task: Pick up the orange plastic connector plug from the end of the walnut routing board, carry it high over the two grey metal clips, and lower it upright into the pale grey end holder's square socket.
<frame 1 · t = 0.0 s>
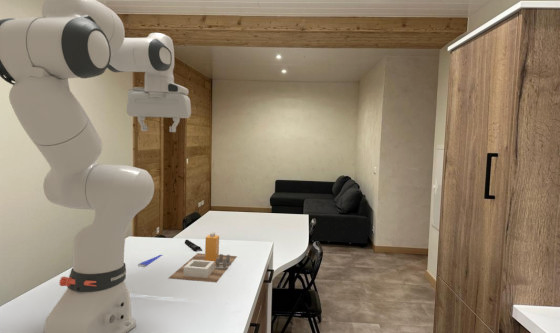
hand: (158, 131, 118), 48 cm above the kitchen island, tool pointing down, fingers open, 8 cm apart
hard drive: (158, 264, 136), on the kitchen island
end holder: (199, 272, 124), resting on routing board
routing board: (205, 269, 131), on the kitchen island
electric trimmer: (192, 251, 154), on the kitchen island
connector plug: (211, 260, 138), point 1 cm above the kitchen island, touching routing board
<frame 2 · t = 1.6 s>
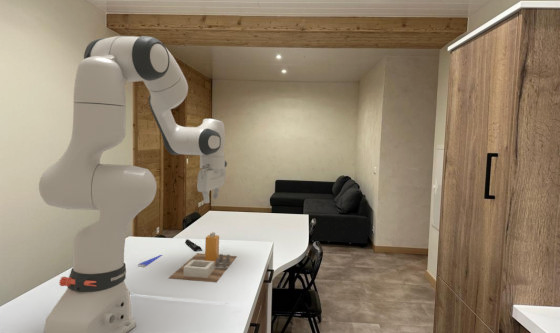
hand: (211, 200, 136), 24 cm above the kitchen island, tool pointing down, fingers open, 8 cm apart
nothing on the kitchen island moved.
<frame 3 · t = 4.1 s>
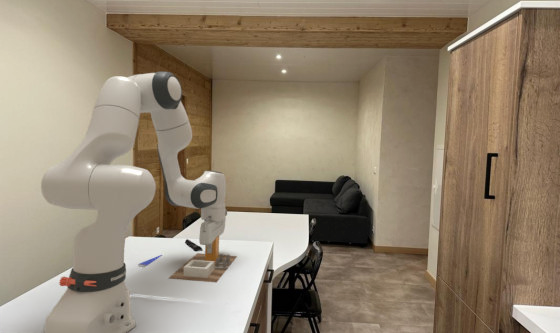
hand: (212, 250, 138), 5 cm above the kitchen island, tool pointing down, fingers closed on connector plug, 4 cm apart
connector plug: (211, 260, 138), point 1 cm above the kitchen island, touching gripper, routing board
everything else where it was.
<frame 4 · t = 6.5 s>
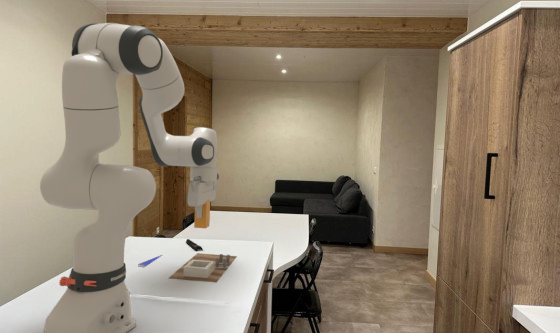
hand: (202, 216, 125), 20 cm above the kitchen island, tool pointing down, fingers closed on connector plug, 4 cm apart
connector plug: (201, 226, 125), point 16 cm above the kitchen island, touching gripper
everything else where it was.
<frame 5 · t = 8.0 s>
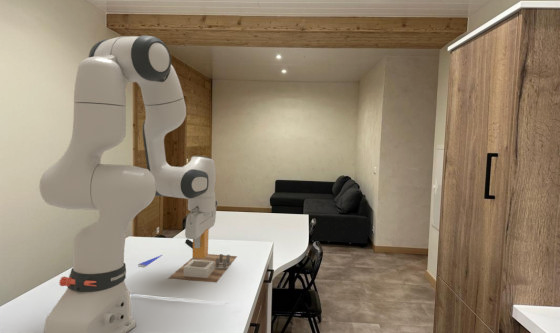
hand: (200, 245, 124), 11 cm above the kitchen island, tool pointing down, fingers closed on connector plug, 4 cm apart
connector plug: (200, 255, 124), point 7 cm above the kitchen island, touching gripper
everything else where it was.
when the fingers open (6 cm above the kitchen island, at t = 9.3 s): connector plug drops 1 cm, resting on routing board.
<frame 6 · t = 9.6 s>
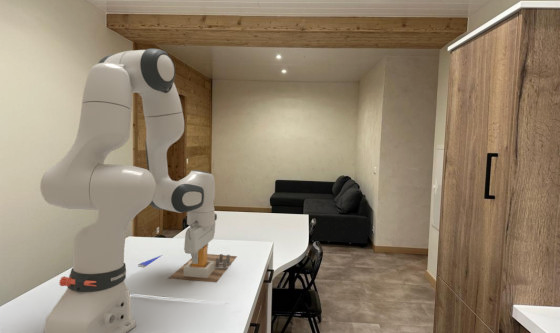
hand: (199, 259, 124), 6 cm above the kitchen island, tool pointing down, fingers open, 7 cm apart
connector plug: (199, 272, 124), point 1 cm above the kitchen island, touching routing board
everything else where it was.
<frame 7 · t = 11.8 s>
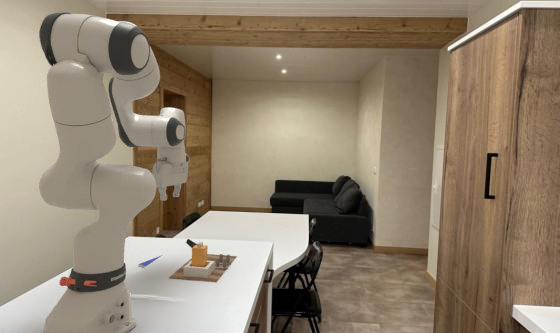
hand: (170, 198, 123), 26 cm above the kitchen island, tool pointing down, fingers open, 8 cm apart
nothing on the kitchen island moved.
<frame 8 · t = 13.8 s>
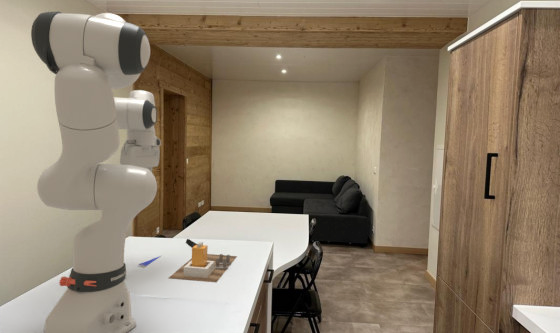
hand: (140, 181, 124), 31 cm above the kitchen island, tool pointing down, fingers open, 8 cm apart
nothing on the kitchen island moved.
at the end: connector plug 0.1 cm off-centre on the end holder, point 0.0 cm above the end holder's base; connector plug tilted 0°; the gripper is holding nothing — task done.
